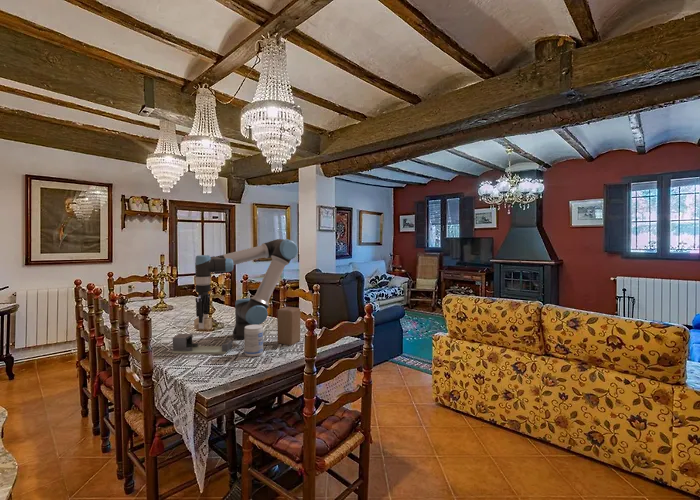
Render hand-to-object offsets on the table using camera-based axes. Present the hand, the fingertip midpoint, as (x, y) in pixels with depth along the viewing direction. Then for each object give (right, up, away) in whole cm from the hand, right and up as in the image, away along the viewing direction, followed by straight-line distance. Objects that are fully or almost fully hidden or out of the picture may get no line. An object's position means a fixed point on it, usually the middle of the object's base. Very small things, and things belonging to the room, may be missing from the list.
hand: (203, 327), depth 193 cm
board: (-1, -13, +1) cm, 13 cm away
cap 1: (-10, -12, +1) cm, 15 cm away
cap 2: (+13, -12, 0) cm, 17 cm away
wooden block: (+43, -13, +16) cm, 48 cm away
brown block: (0, -1, 0) cm, 1 cm away
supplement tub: (+28, -14, -4) cm, 31 cm away
